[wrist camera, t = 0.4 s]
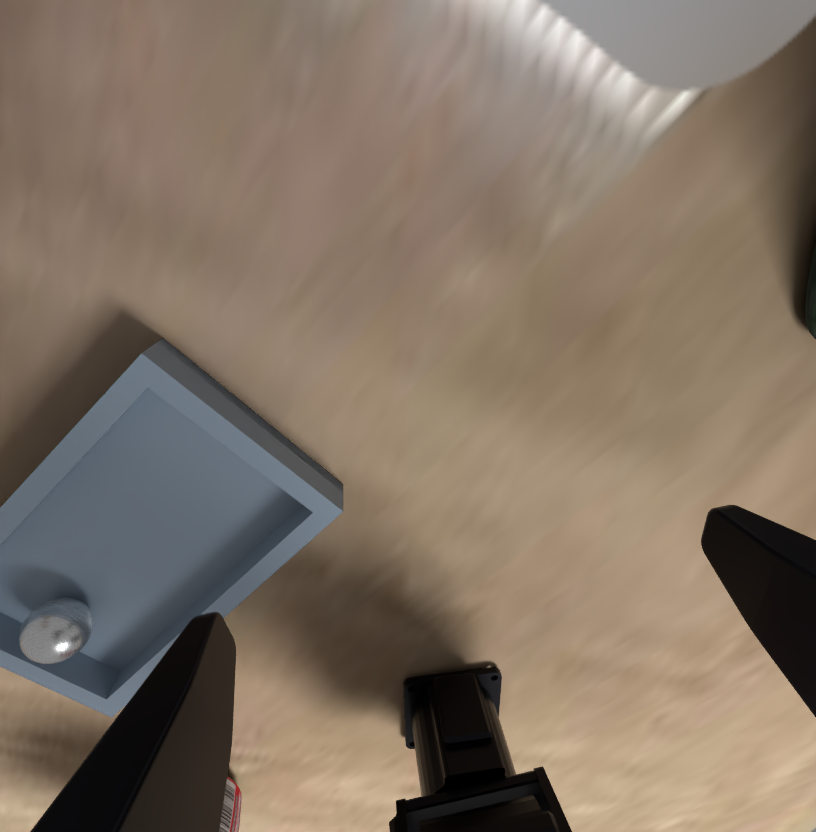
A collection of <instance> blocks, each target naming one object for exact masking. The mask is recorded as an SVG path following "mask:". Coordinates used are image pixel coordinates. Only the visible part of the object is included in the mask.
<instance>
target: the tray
mask: <svg viewBox="0 0 816 832" xmlns="http://www.w3.org/2000/svg"><path fill="white" fill-rule="evenodd" d="M342 512H343V484H342V483H341V482H340V481H338V480H337V479H336V478H335V477H333V476H332V475H331V474H330V473H329V472H327V471H326V470H325V469H324V468H322V467H321V466H320V465H319V464H317V463H316V462H315V461H314V460H313V459H311V458H310V457H309V456H308V455H306V454H305V453H304V452H303V451H301V450H300V449H299V448H298V447H297V446H295V445H294V444H293V443H292V442H290V441H289V440H288V439H287V438H285V437H284V436H283V435H282V434H281V433H279V432H278V431H277V430H276V429H274V428H273V427H272V426H271V425H269V424H268V423H267V422H266V421H265V420H263V419H262V418H261V417H260V416H258V415H257V414H256V413H255V412H253V411H252V410H251V409H250V408H249V407H247V406H246V405H245V404H244V403H242V402H241V401H240V400H239V399H237V398H236V397H235V396H234V395H233V394H231V393H230V392H229V391H228V390H226V389H225V388H224V387H223V386H221V385H220V384H219V383H218V382H217V381H215V380H214V379H213V378H212V377H210V376H209V375H208V374H207V373H205V372H204V371H203V370H202V369H201V368H199V367H198V366H197V365H196V364H194V363H193V362H192V361H191V360H189V359H188V358H187V357H186V356H185V355H183V354H182V353H181V352H180V351H178V350H177V349H176V348H175V347H173V346H172V345H171V344H170V343H169V342H167V341H166V340H165V339H164V338H162V339H161V340H159V341H158V342H157V343H155V344H154V345H152V346H151V347H150V348H148V349H147V350H145V351H144V352H143V353H141V354H140V355H139V357H138V358H137V359H136V360H135V361H134V362H133V363H132V364H131V365H130V366H129V367H128V369H127V370H126V371H125V372H124V373H123V374H122V375H121V376H120V377H119V378H118V380H117V381H116V382H115V383H114V384H113V385H112V386H111V387H110V388H109V389H108V390H107V392H106V393H105V394H104V395H103V396H102V397H101V398H100V399H99V400H98V401H97V403H96V404H95V405H94V406H93V407H92V408H91V409H90V410H89V411H88V412H87V413H86V415H85V416H84V417H83V418H82V419H81V420H80V421H79V422H78V423H77V424H76V425H75V427H74V428H73V429H72V430H71V431H70V432H69V433H68V434H67V435H66V436H65V438H64V439H63V440H62V441H61V442H60V443H59V444H58V445H57V446H56V447H55V448H54V450H53V451H52V452H51V453H50V454H49V455H48V456H47V457H46V458H45V459H44V460H43V462H42V463H41V464H40V465H39V466H38V467H37V468H36V469H35V470H34V471H33V473H32V474H31V475H30V476H29V477H28V478H27V479H26V480H25V481H24V482H23V483H22V485H21V486H20V487H19V488H18V489H17V490H16V491H15V492H14V493H13V494H12V496H11V497H10V498H9V499H8V500H7V501H6V502H5V503H4V504H3V505H2V506H1V508H0V667H3V668H5V669H7V670H9V671H11V672H13V673H16V674H18V675H20V676H22V677H24V678H27V679H29V680H31V681H33V682H35V683H38V684H40V685H42V686H44V687H46V688H48V689H51V690H53V691H55V692H57V693H59V694H62V695H64V696H66V697H68V698H70V699H73V700H75V701H77V702H79V703H81V704H83V705H86V706H88V707H90V708H92V709H94V710H97V711H99V712H101V713H103V714H105V715H108V716H110V717H113V716H114V715H115V714H116V713H117V712H118V711H120V710H121V709H122V708H123V707H124V706H125V705H126V704H127V703H128V702H129V701H130V699H131V698H132V697H133V695H134V694H135V693H136V692H137V690H138V689H139V688H140V686H141V685H142V684H143V682H144V681H145V680H146V678H147V677H148V676H149V674H150V673H151V672H152V670H153V669H154V668H155V666H156V665H157V664H158V662H159V661H160V660H161V658H162V657H163V656H164V654H165V653H166V652H167V651H168V649H169V648H170V647H171V645H172V644H173V643H174V641H175V640H176V639H177V637H178V636H179V635H180V633H181V632H182V631H183V629H184V628H185V627H186V625H187V624H188V623H189V621H190V620H191V619H192V618H193V617H195V616H197V615H201V614H206V613H210V612H218V613H220V614H221V615H222V617H223V618H224V617H225V616H226V615H227V614H229V613H230V612H231V611H232V610H233V609H234V608H235V607H236V606H238V605H239V604H240V603H241V602H242V601H243V600H244V599H245V598H247V597H248V596H249V595H250V594H251V593H252V592H253V591H254V590H256V589H257V588H258V587H259V586H260V585H261V584H262V583H263V582H265V581H266V580H267V579H268V578H269V577H270V576H271V575H272V574H274V573H275V572H276V571H277V570H278V569H279V568H280V567H281V566H283V565H284V564H285V563H286V562H287V561H288V560H289V559H290V558H292V557H293V556H294V555H295V554H296V553H297V552H298V551H299V550H301V549H302V548H303V547H304V546H305V545H306V544H307V543H308V542H310V541H311V540H312V539H313V538H314V537H315V536H316V535H317V534H318V533H320V532H321V531H322V530H323V529H324V528H325V527H326V526H327V525H329V524H330V523H331V522H332V521H333V520H334V519H335V518H336V517H338V516H339V515H340V514H341V513H342ZM57 598H73V599H77V600H79V601H81V602H83V603H84V604H86V605H87V606H88V608H89V609H90V610H91V612H92V615H93V620H94V626H93V631H92V634H91V636H90V638H89V640H88V642H87V643H86V645H85V646H84V647H83V648H82V649H81V650H80V651H79V652H78V653H77V654H75V655H74V656H72V657H71V658H69V659H67V660H64V661H62V662H58V663H53V664H42V663H37V662H34V661H32V660H30V659H29V658H28V657H27V656H26V655H25V654H24V653H23V652H22V650H21V648H20V644H19V633H20V629H21V626H22V624H23V622H24V621H25V619H26V618H27V616H28V615H29V614H30V613H31V612H32V611H33V610H34V609H35V608H37V607H38V606H40V605H41V604H43V603H45V602H47V601H50V600H53V599H57Z"/></svg>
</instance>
